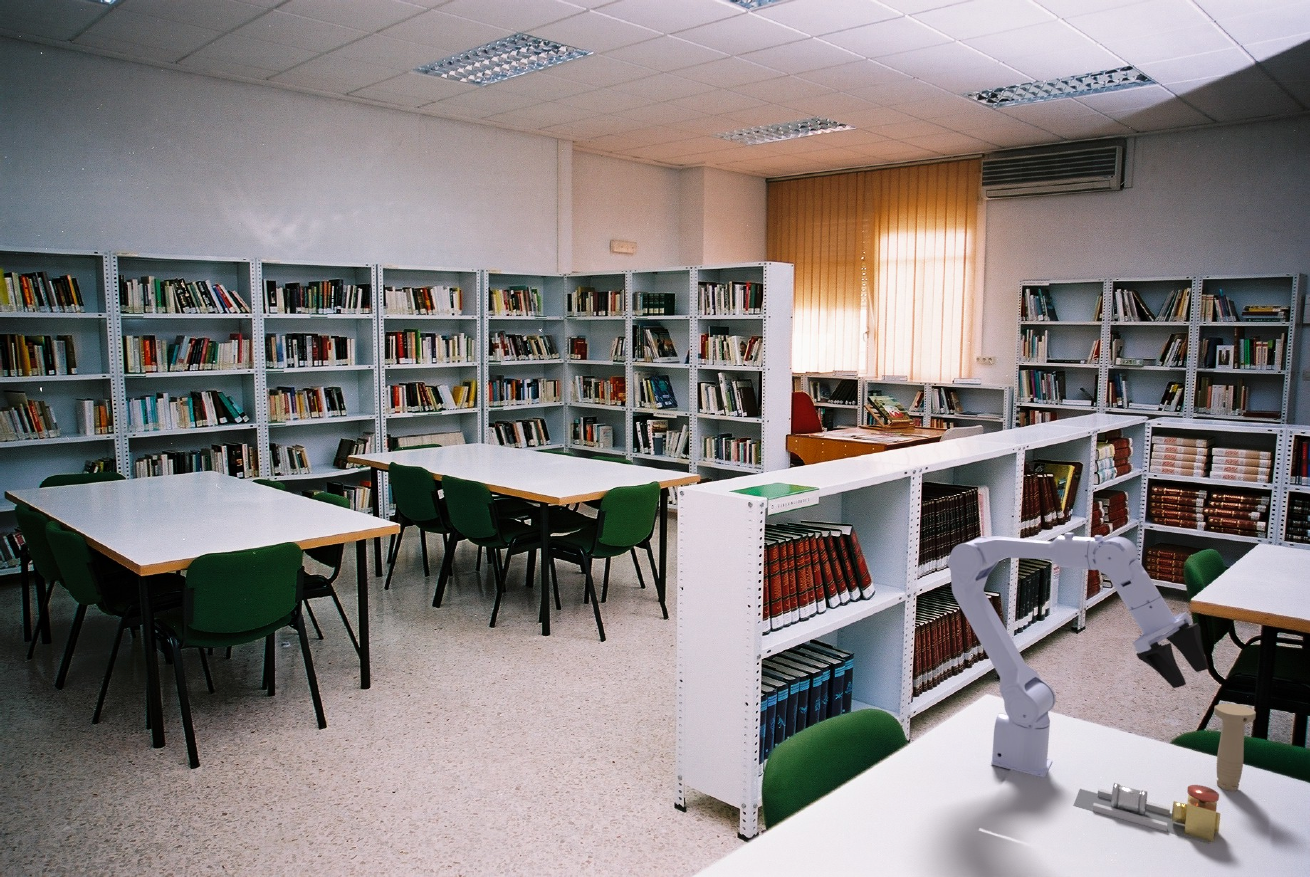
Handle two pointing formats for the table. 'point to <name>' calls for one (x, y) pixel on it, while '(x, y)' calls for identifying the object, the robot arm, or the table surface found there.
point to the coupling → (1129, 799)
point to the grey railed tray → (1153, 818)
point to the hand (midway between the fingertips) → (1191, 678)
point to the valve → (1198, 812)
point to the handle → (1231, 743)
